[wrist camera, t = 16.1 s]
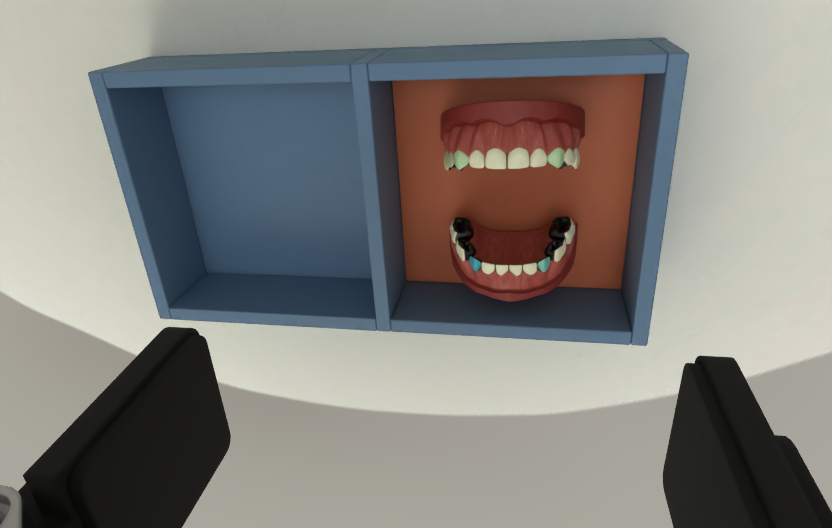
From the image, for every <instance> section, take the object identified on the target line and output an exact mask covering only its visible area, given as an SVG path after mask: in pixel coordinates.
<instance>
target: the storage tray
mask: <svg viewBox="0 0 832 528" xmlns="http://www.w3.org/2000/svg"><path fill="white" fill-rule="evenodd" d="M688 57H689V54H688V52H686V51H684V50H683V49H681V48H680V47H678V46H676V45H675V44H673V43H672V42H670V41H668V40H667V39H666V38H642V39H615V40H589V41H562V42H535V43H509V44H482V45H455V46H429V47H402V48H375V49H349V50H322V51H295V52H269V53H242V54H216V55H189V56H162V57H147V58H143V59H140V60H136V61H132V62H128V63H124V64H120V65H116V66H112V67H108V68H104V69H99V70H95V71H91V72H89V73H88V76H89V79H90V82H91V86H92V89H93V93H94V96H95V99H96V103H97V106H98V109H99V113H100V116H101V120H102V123H103V126H104V130H105V133H106V136H107V140H108V143H109V147H110V150H111V153H112V157H113V160H114V164H115V167H116V170H117V174H118V177H119V180H120V184H121V187H122V191H123V194H124V197H125V201H126V204H127V208H128V211H129V214H130V218H131V221H132V224H133V228H134V231H135V235H136V238H137V241H138V245H139V248H140V252H141V255H142V258H143V262H144V265H145V268H146V272H147V275H148V279H149V282H150V285H151V289H152V292H153V296H154V299H155V302H156V306H157V309H158V312H159V316H160V318H162V319H177V320H195V321H213V322H231V323H248V324H266V325H284V326H302V327H320V328H337V329H355V330H373V331H376V330H378V331H391V330H392V331H394V332H412V333H429V334H447V335H465V336H483V337H501V338H518V339H536V340H554V341H572V342H590V343H607V344H625V345H630V343H631V344H632V345H643V346H646V345H647V342H648V335H649V328H650V321H651V315H652V308H653V301H654V294H655V287H656V280H657V273H658V266H659V259H660V252H661V245H662V238H663V231H664V224H665V217H666V210H667V203H668V196H669V189H670V182H671V176H672V169H673V162H674V155H675V148H676V141H677V134H678V127H679V120H680V113H681V106H682V99H683V92H684V85H685V78H686V71H687V64H688ZM501 100H544V101H558V102H564V103H571V104H574V105H577V106H579V107H581V108H583V109H584V110H585V137H583V139H582V140H581V141H580V146H579V148H578V151H579V155H580V162H579V166H578V168H577V169H574V168H573V167H572V166H570V165H568V166H565V167H563V168H562V169H559V168H556V167H555V166H553V165H551V164H550V163H549V162H548V161H547V163H546V165H545V166H542V167H531V166H530V163H529V166H528V167H527V168H521V169H508V166H507V167H506V169H489V168H487V167H486V166H485V167H484V168H473V167H471V166H470V164H468V165H466V166H465V168H464V169H463V170H462V171H460V170H458V169H456V168H454V167H453V168H452V169H451V170H450V171H447V170H446V169H445V166H444V156H445V153H446V152H445V149H444V145H443V141H441V114H442V113H443V112H444V111H446V110H448V109H450V108H453V107H457V106H460V105H465V104H472V103H480V102H488V101H501ZM507 158H508V155H507ZM529 161H530V157H529ZM456 217H464V218H466V217H470V218H471V219H472V220H473V221H474V222H475V223H476V224H477V225H479V226H480V227H482V228H484V229H487V230H492V231H505V232H520V231H534V230H538V229H541V228H543V227H545V226H547V225H548V224H549V223H550V222H551V221H552V219H553V218H555V217H570V218H571V219H572V220H573V221H574V223H577V224H578V232H577V245H576V255H575V259H574V263H573V266H572V268H571V270H570V271H569V273H568V274H567V276H566V277H565V279H564V280H563V281H562V282H561V283H560V284H559V285H558V286H557V287H555V288H554V289H552V290H551V291H549V292H547V293H546V294H542V295H538V296H535V297H531V298H529V299H525V300H520V301H513V302H508V301H503V300H498V299H494V298H491V297H489V296H486V295H484V294H480V293H477V292H475V291H474V290H472V289H471V288H469V287H468V286H467V285H466V284H465V283H464V282H463V281H462V280H461V279H460V277H459V275H458V274H457V272H456V270H455V268H454V266H453V262H452V256H451V249H450V237H449V228H450V223H452V221H453V219H454V218H456Z"/></svg>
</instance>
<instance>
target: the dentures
mask: <svg viewBox="0 0 832 528" xmlns="http://www.w3.org/2000/svg"><path fill="white" fill-rule="evenodd" d="M583 137H585V110H584V109H583V108H581V107H579V106H577V105H574V104H571V103H564V102H558V101H544V100H501V101H488V102H480V103H472V104H465V105H460V106H457V107H453V108H450V109H448V110H446V111H444V112H443V113H442V114H441V141H443V145H444V149H445V152H446V153H445V156H444V166H445V169H446V170H447V171H450V170H451V169H452V168H453V167H454V168H456V169H458V170H460V171H462V170H463V169H464V168H465V166H466V165H468V164H470V166H471V167H473V168H484V167H485V166H486V167H487V168H489V169H506V167H507V166H508V169H521V168H527V167H528V166H529V163H530V166H531V167H542V166H545V165H546V163H547V161H548V162H549V163H550V164H551V165H553V166H555V167H556V168H559V169H562V168H563V167H565V166H568V165H570V166H572V167H573V168H574V169H577V168H578V166H579V162H580V155H579V151H578V148H579V146H580V141H581V140H582V139H583ZM507 155H508V158H507ZM529 157H530V161H529ZM577 232H578V224H577V223H574V221H573V220H572V219H571V218H570V217H555V218H553V219H552V221H551V222H550V223H549V224H548V225H547V226H545V227H543V228H541V229H538V230H534V231H520V232H505V231H492V230H487V229H484V228H482V227H480V226H479V225H477V224H476V223H475V222H474V221H473V220H472V219H471V218H470V217H466V218H464V217H456V218H454V219H453V221H452V223H450V228H449V237H450V249H451V256H452V262H453V266H454V268H455V270H456V272H457V274H458V275H459V277H460V279H461V280H462V281H463V282H464V283H465V284H466V285H467V286H468V287H469V288H471V289H472V290H474V291H475V292H477V293H480V294H484V295H486V296H489V297H491V298H494V299H498V300H503V301H508V302H513V301H520V300H525V299H529V298H531V297H535V296H538V295H542V294H546V293H547V292H549V291H551V290H552V289H554V288H555V287H557V286H558V285H559V284H560V283H561V282H562V281H563V280H564V279H565V277H566V276H567V274H568V273H569V271H570V270H571V268H572V266H573V263H574V259H575V255H576V245H577Z"/></svg>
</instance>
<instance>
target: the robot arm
mask: <svg viewBox="0 0 832 528" xmlns="http://www.w3.org/2000/svg"><path fill="white" fill-rule="evenodd" d="M230 436H231V435H230V431H229V427H228V422H227V419H226V414H225V411H224V407H223V403H222V399H221V395H220V391H219V388H218V383H217V380H216V376H215V372H214V368H213V364H212V360H211V356H210V352H209V349H208V345H207V341H206V339H205V338H204V337H203V336H200V335H199V333H198V331H197V330H196V329H193V328H178V327H167V328H164V329H163V330H162V331H161V332H160V333H159V334H158V335H157V336H156V337H155V338H154V339H153V340H152V341H151V342H150V343H149V344H148V345H147V346H146V347H145V349H144V350H143V351H142V352H141V353H140V354H139V355H138V356H137V357H136V358H135V359H134V360H133V361H132V362H131V363H130V364H129V365H128V366H127V367H126V368H125V369H124V370H123V372H122V373H121V374H120V375H119V376H118V377H117V378H116V379H115V380H114V381H113V382H112V383H111V384H110V385H109V386H108V387H107V388H106V389H105V390H104V391H103V392H102V393H101V394H100V395H99V396H98V398H97V399H96V400H95V401H94V402H93V403H92V404H91V405H90V406H89V407H88V408H87V409H86V410H85V411H84V412H83V413H82V414H81V415H80V416H79V417H78V418H77V420H75V421H74V423H73V424H72V425H71V426H70V427H69V428H68V429H67V430H66V431H65V432H64V433H63V434H62V435H61V436H60V437H59V438H58V439H57V440H56V441H55V442H54V443H53V444H52V445H51V447H50V448H49V449H48V450H47V451H46V452H45V453H44V454H43V455H42V456H41V457H40V458H39V459H38V460H37V461H36V462H35V463H34V464H33V465H32V466H31V467H30V468H29V469H28V470H27V471H26V473H25V474H24V475H23V477H24V479H25V481H26V484H25V485H24V486H23V487H22V488H21V489H20V490H19V491H16V490H15V489H14V488H12V487H8V486H3V485H0V528H182V526H183V525H184V523H185V521H186V519H187V518H188V516H189V515H190V513H191V511H192V510H193V508H194V506H195V504H196V503H197V501H198V500H199V498H200V496H201V495H202V493H203V491H204V489H205V488H206V486H207V484H208V483H209V481H210V479H211V478H212V476H213V474H214V473H215V471H216V469H217V468H218V466H219V464H220V463H221V461H222V459H223V458H224V456H225V454H226V453H227V451H228V448H229V445H230ZM663 486H664V492H665V495H666V500H667V504H668V508H669V511H670V515H671V519H672V523H673V527H674V528H832V512H831V510H830V508H829V507H828V505H827V503H826V501H825V499H824V498H823V496H822V494H821V492H820V490H819V488H818V487H817V485H816V483H815V481H814V479H813V478H812V476H811V474H810V472H809V470H808V468H807V466H806V465H805V463H804V461H803V459H802V457H801V456H800V454H799V452H798V450H797V448H796V447H795V445H794V444H793V442H792V441H791V440H790V439H789V438H787V437H786V436H777V435H774V434H773V432H772V430H771V428H770V426H769V424H768V422H767V420H766V418H765V416H764V414H763V412H762V410H761V408H760V406H759V404H758V403H757V401H756V399H755V397H754V395H753V393H752V391H751V389H750V387H749V385H748V383H747V381H746V379H745V377H744V375H743V373H742V371H741V370H740V368H739V366H738V364H737V362H736V361H735V359H734V358H732V357H714V356H698V357H697V358H696V360H695V364H694V363H687V364H685V366H684V369H683V374H682V379H681V384H680V389H679V394H678V399H677V404H676V409H675V414H674V419H673V425H672V429H671V435H670V439H669V445H668V449H667V454H666V459H665V464H664V470H663Z"/></svg>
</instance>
